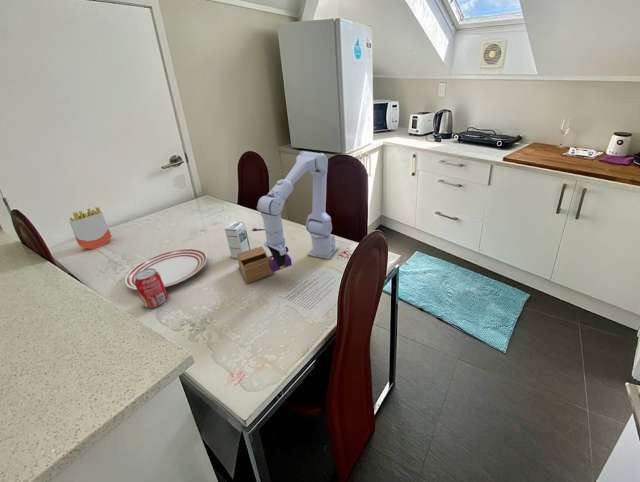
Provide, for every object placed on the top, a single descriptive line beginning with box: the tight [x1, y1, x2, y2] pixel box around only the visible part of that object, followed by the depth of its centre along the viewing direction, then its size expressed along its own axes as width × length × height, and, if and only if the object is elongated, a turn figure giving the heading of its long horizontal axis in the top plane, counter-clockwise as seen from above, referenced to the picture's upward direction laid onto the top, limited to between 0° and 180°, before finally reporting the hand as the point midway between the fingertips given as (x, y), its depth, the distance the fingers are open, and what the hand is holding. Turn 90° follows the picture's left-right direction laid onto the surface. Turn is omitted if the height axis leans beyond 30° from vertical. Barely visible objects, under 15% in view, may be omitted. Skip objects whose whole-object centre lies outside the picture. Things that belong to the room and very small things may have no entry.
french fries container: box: [69, 206, 112, 250], centre depth 138 cm, size 5×11×18 cm, turn 148°
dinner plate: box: [124, 247, 208, 291], centre depth 121 cm, size 27×27×3 cm
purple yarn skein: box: [269, 253, 293, 273], centre depth 111 cm, size 7×4×3 cm, turn 124°
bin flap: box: [244, 255, 273, 269], centre depth 113 cm, size 6×10×1 cm
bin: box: [236, 246, 274, 284], centre depth 121 cm, size 12×10×7 cm
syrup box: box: [224, 221, 251, 259], centre depth 130 cm, size 6×6×14 cm
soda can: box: [135, 268, 168, 308], centre depth 104 cm, size 7×7×12 cm
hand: (279, 262), depth 111 cm, fingers closed on purple yarn skein, 3 cm apart
